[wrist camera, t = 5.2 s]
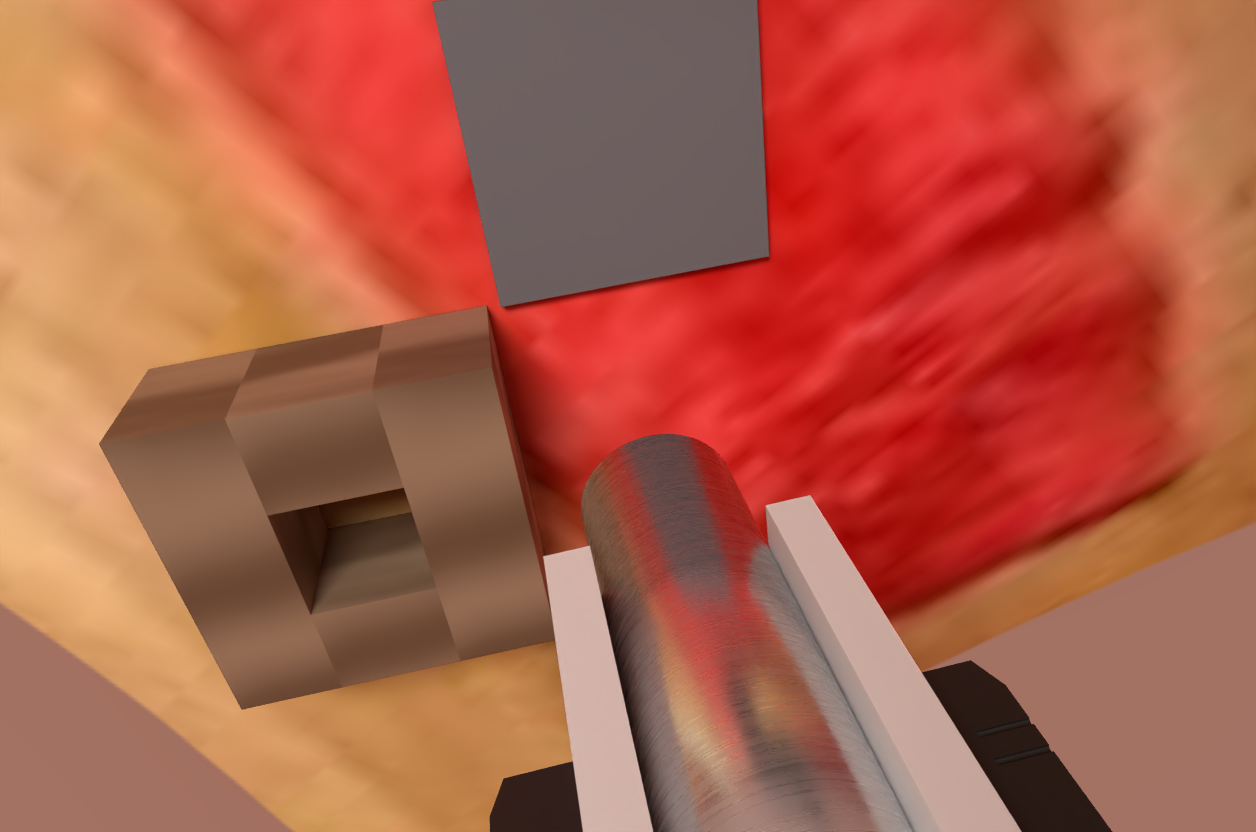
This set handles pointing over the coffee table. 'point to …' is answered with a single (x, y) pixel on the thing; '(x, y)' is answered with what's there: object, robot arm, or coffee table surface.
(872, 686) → the robot arm
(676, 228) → the mat
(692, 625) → the peg
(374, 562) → the block
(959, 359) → the coffee table surface
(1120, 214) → the coffee table surface
